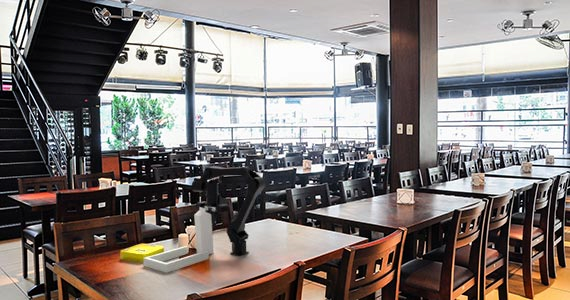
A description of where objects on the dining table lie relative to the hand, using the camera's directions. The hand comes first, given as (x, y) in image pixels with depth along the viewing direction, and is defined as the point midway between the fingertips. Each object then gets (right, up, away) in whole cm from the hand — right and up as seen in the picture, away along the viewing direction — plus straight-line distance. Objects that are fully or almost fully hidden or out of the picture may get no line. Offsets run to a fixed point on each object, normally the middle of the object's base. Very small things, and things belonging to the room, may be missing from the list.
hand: (212, 224), depth 214 cm
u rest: (-13, -14, -16) cm, 25 cm away
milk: (-3, -14, -4) cm, 14 cm away
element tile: (-32, -15, -7) cm, 36 cm away
